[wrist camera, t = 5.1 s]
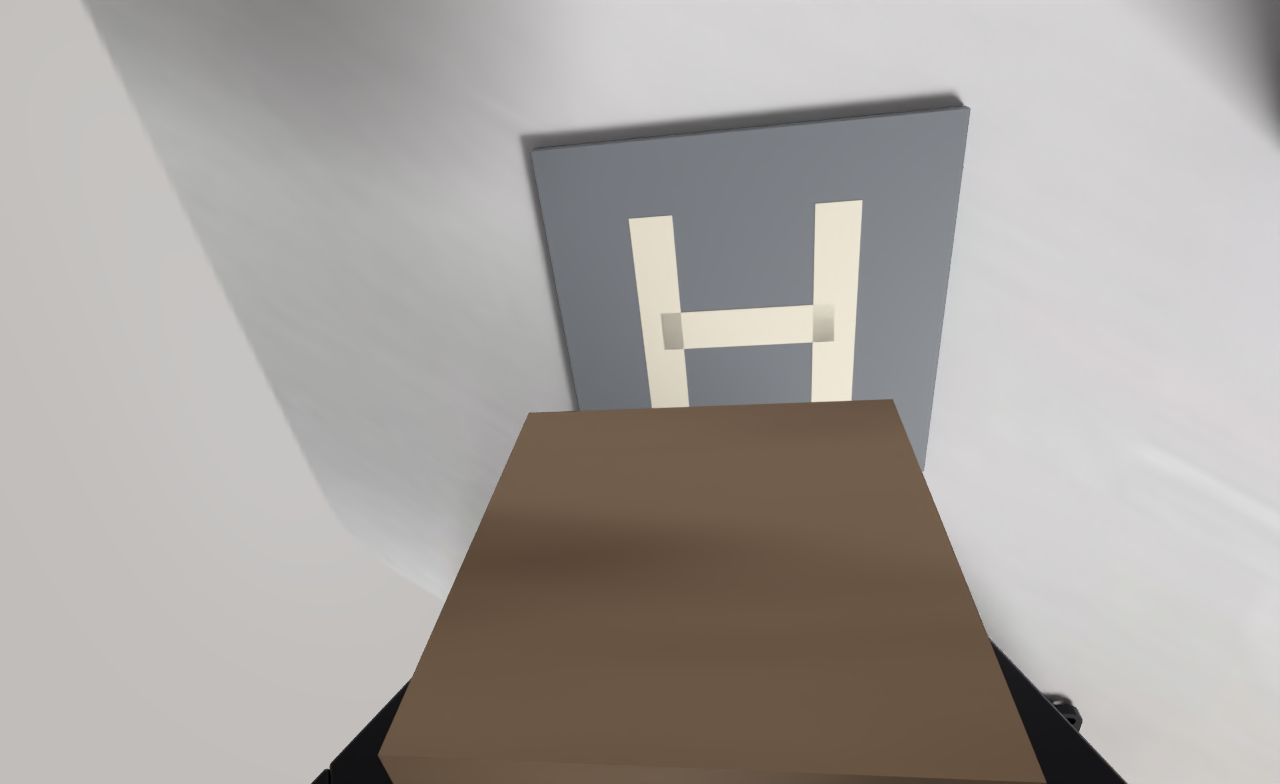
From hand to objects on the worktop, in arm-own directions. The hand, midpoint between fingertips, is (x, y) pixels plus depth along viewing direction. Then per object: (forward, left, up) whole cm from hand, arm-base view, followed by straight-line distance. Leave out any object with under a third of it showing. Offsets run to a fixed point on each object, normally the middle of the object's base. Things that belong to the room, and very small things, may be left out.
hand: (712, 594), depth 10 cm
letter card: (-1, -1, -12) cm, 12 cm away
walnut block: (0, 0, -1) cm, 1 cm away
